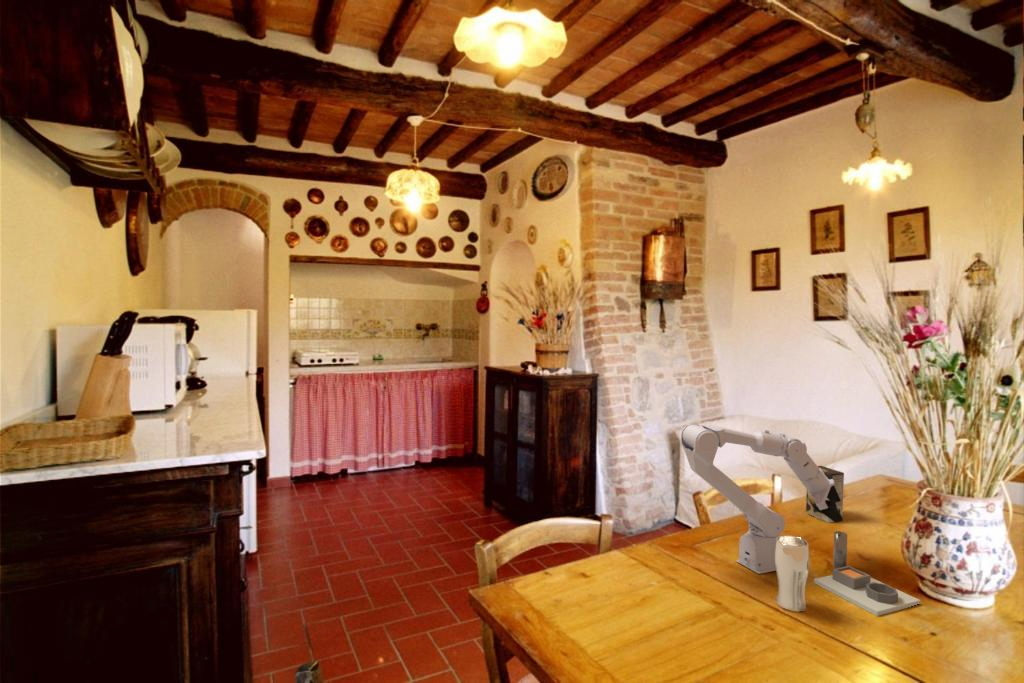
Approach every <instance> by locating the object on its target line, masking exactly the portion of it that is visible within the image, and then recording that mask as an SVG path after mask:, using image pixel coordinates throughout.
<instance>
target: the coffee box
mask: <svg viewBox="0 0 1024 683" xmlns="http://www.w3.org/2000/svg"><path fill="white" fill-rule="evenodd" d="M817 466H818V468H821V469H822V471H823V472H824V475H825V476H826V475H832V477H833V480H834V481H835V485H834V486H835V489H836V491H837V493H838V495H839V497H840V501H839V502H836V506H837V508H838V510H839V512H840V514H841V516H842V517H843V511H844V508H843V507H844V506H843V505H844V504H843V503H844V484H845V483H844V482H845V473H844V472H842V471H839V470H836V469H833V468H829V467H826V466H823V465H817ZM826 500H828V501H829V499H828V498H826ZM805 501H806V504H805V514H806V513H808V514H810V515H809V516H811V515H812V517H813V516H814V518H815V517H816V519H819V520H820V519H821V520H820V521H822V520H823V521H822V522H825V523H827V524H830V523H835V522H834V521H832V520H831V519H830V518H828V517H827V516H826V515H824V514H822V513H820V512H817V511H815V509H814V508H813V504H814V503H816V502H815V500H814V499H813V498H812V496H811V495H810V494H809V492H808V491H807V490H806V497H805ZM808 514H807V515H808Z"/></svg>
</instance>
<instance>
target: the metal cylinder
mask: <svg viewBox="0 0 1024 683" xmlns="http://www.w3.org/2000/svg"><path fill="white" fill-rule="evenodd" d="M847 564H848V533H846V532H843V531H837V530H836V531H834V532H833V565H832V566H833V568H834V569H836V568H841V567H845V566H848V565H847Z"/></svg>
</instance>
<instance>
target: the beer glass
mask: <svg viewBox="0 0 1024 683" xmlns="http://www.w3.org/2000/svg"><path fill="white" fill-rule="evenodd" d="M809 550H810V549H809V542H808V540H806V539H804V538H802V537H799V536H796V535H795V536H794V535H790V534H782V535H781V534H780V536H778V537H777V538H776V546H775V566H776V571H775V572H776V576H777V577H776V578H777V585H778V590H777V596H776V601H775V603H776V602H777V603H778V604H779V605H780V606H781V607H783V608H785V609H789V610H794V611H803V612H805V611H806V610H807V605H806V604H807V603H806V598H805V591H806V590H805V588H806V586H807V585H806V584H807V581H808V575H809V569H810V551H809ZM777 603H776V604H777ZM781 607H780V608H781ZM783 608H782V609H783ZM785 609H784V610H785ZM804 610H805V611H804Z"/></svg>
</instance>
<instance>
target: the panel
mask: <svg viewBox="0 0 1024 683" xmlns="http://www.w3.org/2000/svg"><path fill="white" fill-rule="evenodd" d="M849 569H850V570H852V571H855V572H857V573H859V574H861V575H863V576H860V577H855V578H852V577H850V576H848V575H846V574H844V573H842V572H840V571H844V570H849ZM813 584H815V585H817V586H819V587H820V588H823V589H825V590H827V591H829V592H830V593H832V594H834V595H836V596H838V597H840V598H842V599H844V600H846V601H847V602H849V603H851V604H854V605H855V606H858V607H859V608H860V609H862V610H865V611H867V612H869V613H871V614H873V615H874V616H876V617H879V616H883V615H886V614H890V613H894V612H898V611H900V610H901V611H902V610H905V609H909V608H912V607H911V606H913V607H915V606H914V605H916V606H918V605H917V604H920V605H921V599H919V598H917V597H914V596H912V595H910V594H908V593H905V592H904V591H901V590H899V589H897V588H894V586H893V587H892V586H891V585H889V584H886V583H883V582H882V581H879V580H877V579H875V578H873V577H872V576H871V575H870V574H868V573H866V572H864V571H861V570H860V569H857V568H855V567H852V566H850V565H847V566H845V567H841V568H832V574H831V575H826V576H825V575H824V576H821V577H815V578H814V579H813ZM908 607H909V608H908Z"/></svg>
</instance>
